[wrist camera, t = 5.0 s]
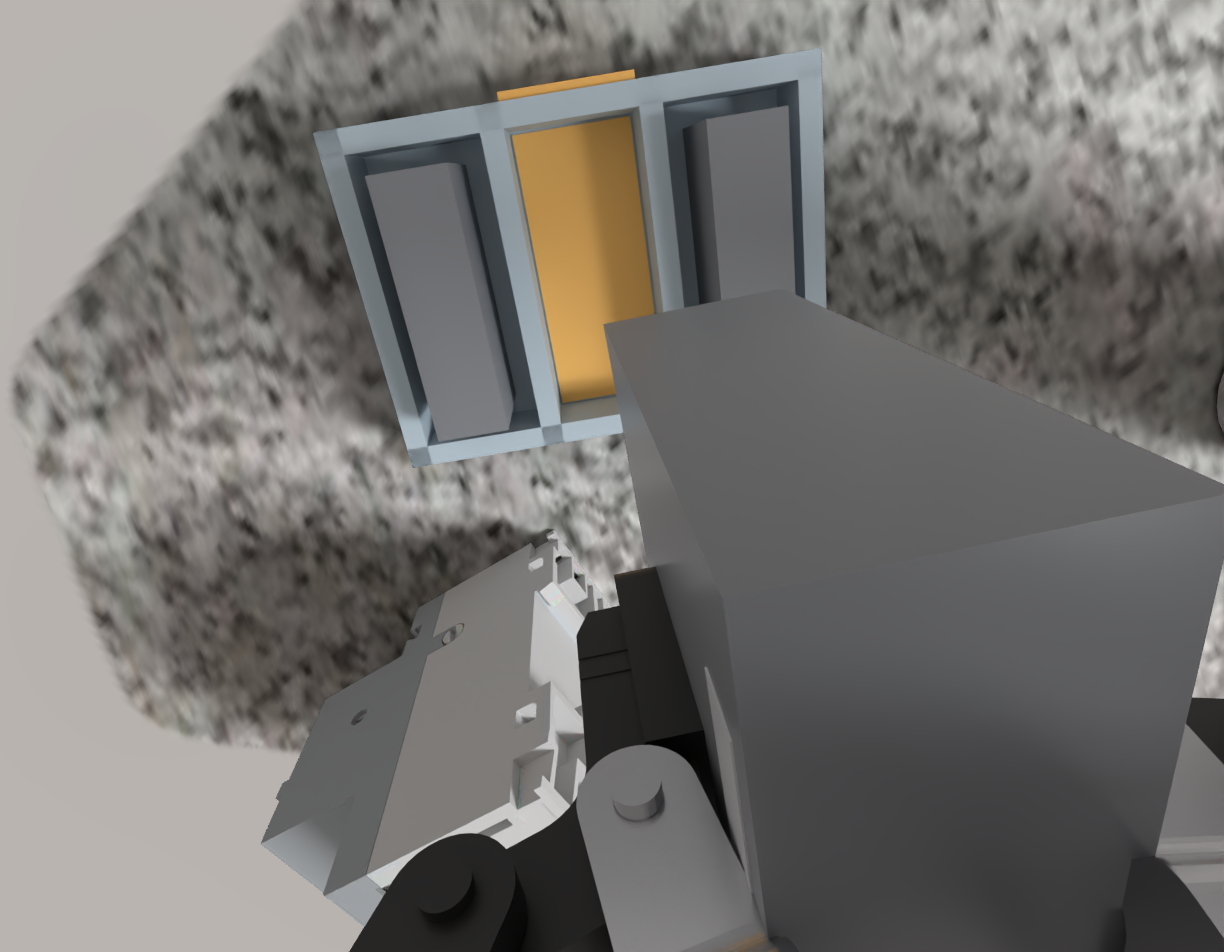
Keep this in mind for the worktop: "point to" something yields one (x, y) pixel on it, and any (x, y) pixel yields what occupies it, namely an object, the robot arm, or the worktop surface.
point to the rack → (570, 236)
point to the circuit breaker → (446, 733)
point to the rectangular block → (915, 626)
